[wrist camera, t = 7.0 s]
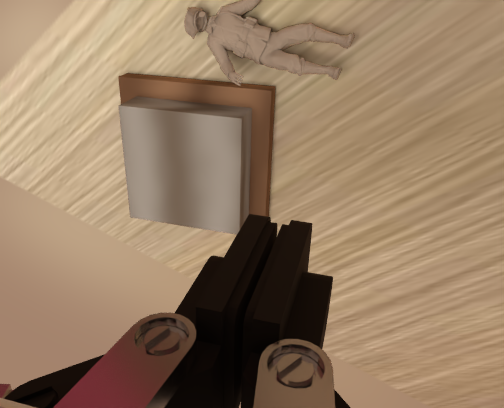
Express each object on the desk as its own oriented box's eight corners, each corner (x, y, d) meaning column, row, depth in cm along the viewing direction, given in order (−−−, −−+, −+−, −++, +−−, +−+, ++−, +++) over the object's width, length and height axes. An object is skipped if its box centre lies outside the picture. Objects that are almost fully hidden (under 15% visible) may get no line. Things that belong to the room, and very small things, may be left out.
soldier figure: (324, 117, 32) (159, 51, 31) (312, 125, 37) (170, 68, 36) (366, 9, 32) (200, -59, 31) (348, 32, 36) (205, -27, 36)
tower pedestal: (275, 86, 37) (262, 100, 33) (268, 227, 43) (256, 252, 39) (127, 73, 40) (99, 84, 36) (139, 207, 46) (116, 229, 42)
